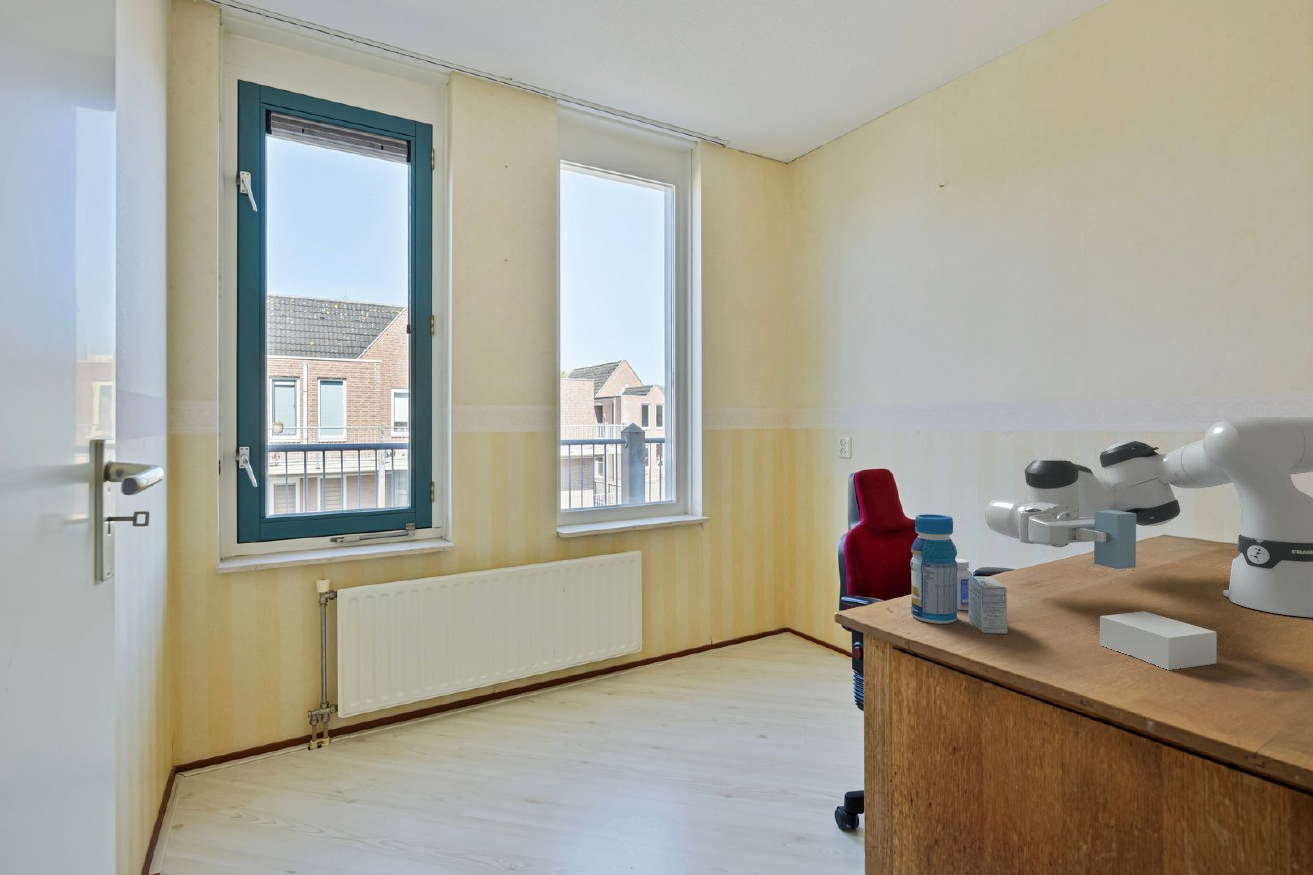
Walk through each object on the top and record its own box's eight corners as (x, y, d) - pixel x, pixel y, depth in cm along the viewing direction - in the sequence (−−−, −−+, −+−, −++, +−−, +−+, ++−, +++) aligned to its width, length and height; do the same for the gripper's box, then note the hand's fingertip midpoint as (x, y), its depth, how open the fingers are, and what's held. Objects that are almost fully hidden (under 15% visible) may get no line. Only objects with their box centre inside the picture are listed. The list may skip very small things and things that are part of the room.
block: (1112, 562, 116) (1112, 510, 115) (1135, 567, 111) (1136, 513, 111) (1094, 563, 115) (1094, 511, 114) (1117, 569, 110) (1117, 514, 110)
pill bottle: (972, 604, 127) (972, 558, 127) (973, 611, 122) (973, 564, 122) (943, 601, 130) (943, 556, 129) (943, 608, 125) (943, 561, 125)
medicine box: (1007, 634, 109) (1008, 587, 109) (980, 633, 110) (981, 586, 110) (992, 621, 117) (992, 576, 117) (967, 619, 118) (967, 575, 118)
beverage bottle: (941, 628, 113) (941, 521, 112) (901, 616, 120) (901, 515, 120) (966, 619, 117) (967, 517, 117) (927, 609, 125) (927, 512, 124)
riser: (1144, 639, 106) (1144, 611, 106) (1216, 663, 95) (1216, 631, 95) (1099, 645, 104) (1099, 616, 103) (1168, 670, 93) (1168, 637, 93)
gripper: (1092, 537, 128) (1162, 550, 115) (1013, 542, 123) (1076, 556, 110) (1093, 507, 128) (1162, 517, 115) (1013, 511, 123) (1076, 522, 109)
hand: (1119, 536), depth 112 cm, fingers closed on block, 4 cm apart
